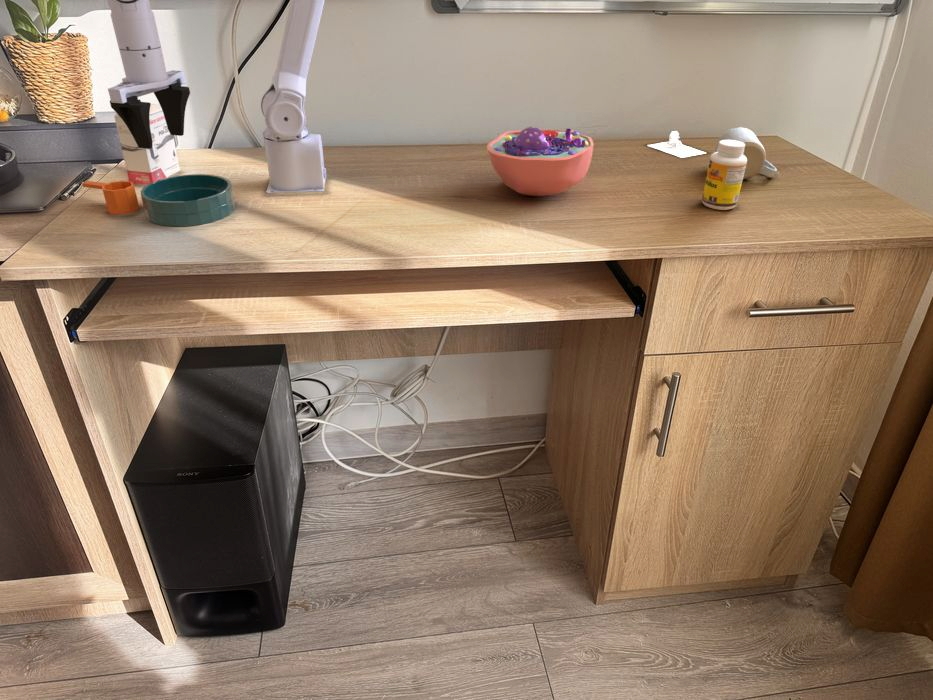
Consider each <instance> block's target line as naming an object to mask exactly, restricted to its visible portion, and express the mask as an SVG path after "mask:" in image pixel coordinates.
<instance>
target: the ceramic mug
mask: <svg viewBox="0 0 933 700" xmlns="http://www.w3.org/2000/svg"><path fill="white" fill-rule="evenodd" d="M721 140H736V141H740V142H743V143H744V144H745V148H744V153H743V155H744V156H745V157H746V158H747V163H746V168H745V172H744V176H743V180H748V179H750V178H753V177H755V176H757V175H758V174H761V175H762V176H765V177H767V178H770V179H771V178H774V176H775V175H776V174H777V172H778V169H777V167H775V165H773V164H772V163H771V162H769V161H768V160H766V158H767V155H766V149H765V147H764V146H763V144H762V143H761V142H760V140H759V138H758V137H757V135H756V134H755V133H754V132H753V131H752V130H751V129H749V128H747V127H743V126H741V127H739V126H738V127H733V128H730V129H728V130H727V131H725V132H724V133H723V134H722V135H721V136H720V137H719V138H718V141H717V142H716V144H715V148H714V149H715V150H714V153H715V152H717V148H718V144H719V141H721Z"/></svg>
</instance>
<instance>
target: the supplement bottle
mask: <svg viewBox="0 0 933 700" xmlns="http://www.w3.org/2000/svg"><path fill="white" fill-rule="evenodd" d="M744 148H745V144H744V143H743V142H740V141H736V140H721V141H719V144H718V148H717V152H715V151H714V152H713V153H712V154H711V155H710V157H709V161H708V168H707V171H706V172H707V173H706V176H705V181H704V187H703V192H702V198H701V203H702V204H703V205H704V206H705V207H707V208H709V209H712V210H716V211H717V210H718V211H727V210H733V209H735V208H736V207H737V205H738V201H739V197H740V193H741V189H742V185H743V181H744V179H743V176H744V172H745V168H746V163H747V158H746V157H745V156H744V155H743V153H744Z"/></svg>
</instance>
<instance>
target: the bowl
mask: <svg viewBox="0 0 933 700" xmlns="http://www.w3.org/2000/svg"><path fill="white" fill-rule="evenodd" d="M140 197H141V202H142V206H143V210H144V213H145V216H146V219H147V220H148V221H149V222H150V223H153V224H155V225H159V226H164V227H193V226H200V225H205V224H210V223H214V222H217V221H219V220H223V219H224V218H226V217H228V216H230V215H232V213H233V212H235V209H236V202H235V197H234V191H233V185H232V182H231V181H230V180H229V179H228V178H226V177H223V176H220V175H216V174H215V175H214V174H203V173H193V174H192V173H191V174H182V175H181V174H180V175H174V176H169V177H167V178H164V179H161V180H157V181H155V182H152V183H150V184H148V185H147V184H146V185H145V186H143V188H142V189H141V190H140Z"/></svg>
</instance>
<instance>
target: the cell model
mask: <svg viewBox="0 0 933 700" xmlns="http://www.w3.org/2000/svg"><path fill="white" fill-rule="evenodd" d="M594 146H595V145H594V141H593V139H592V137H591V136H588V135H584V134H580V133H579V132H578V131H576V130H572V129H571V128H566V129H565V130H560V129H559V130H558V129H553V130H552V129H539V128H538V127H534V126H528V127H526V128H524V129H520V130H509V131H505V132H501V134H499V135H498V136H497V137H496V138H495V139H492V140H491V141H490V142H488V143H487V145H486V149H487V153H488V156H489V160H490V163H491V166H492V168H493V170H494V171H495V173H496V174H497V176H498V177H499V178H500V180H501V181H502V182H503V183H504V185H505V186H507V187H508V188H509V189H511V190H513V191H514V192H516V193H518V194H520V195H523V196H529V197H548V196H555V195H558V194H561V193H563V192H565V191H567V190H568V189H570V188H572V187H573V186H575V185H577V184H579V183H581V182H582V181H583V180H584V179H585V177H586V176H587V174H588V172H589V169H590V166H591V162H592V158H593V152H594Z"/></svg>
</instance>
